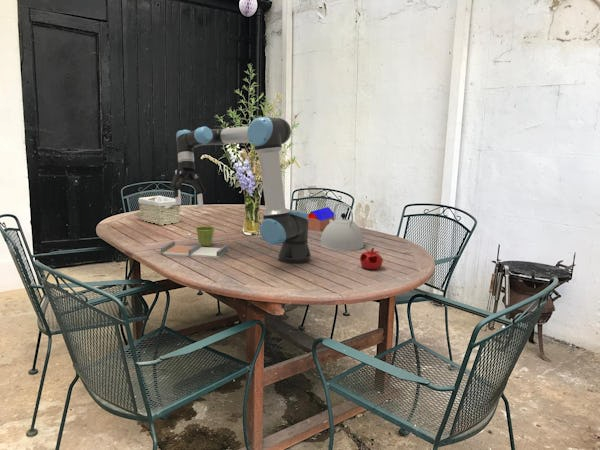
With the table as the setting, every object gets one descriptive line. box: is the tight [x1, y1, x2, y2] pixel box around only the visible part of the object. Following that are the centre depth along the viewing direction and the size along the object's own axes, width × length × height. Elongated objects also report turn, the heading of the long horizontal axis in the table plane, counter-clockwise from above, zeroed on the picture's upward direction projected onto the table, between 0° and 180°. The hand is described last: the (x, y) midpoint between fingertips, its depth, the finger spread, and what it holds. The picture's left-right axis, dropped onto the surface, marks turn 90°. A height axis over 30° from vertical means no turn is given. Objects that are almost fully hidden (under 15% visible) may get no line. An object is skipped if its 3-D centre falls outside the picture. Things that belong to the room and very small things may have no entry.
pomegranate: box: [359, 247, 384, 270], centre depth 214 cm, size 10×10×9 cm
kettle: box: [320, 202, 365, 252], centre depth 252 cm, size 25×23×23 cm
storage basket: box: [137, 195, 182, 226], centre depth 297 cm, size 24×16×15 cm
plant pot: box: [195, 226, 216, 247], centre depth 245 cm, size 9×9×9 cm
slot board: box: [160, 240, 229, 259], centre depth 231 cm, size 28×14×3 cm, turn 82°
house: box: [307, 206, 335, 232], centre depth 294 cm, size 12×20×12 cm, turn 148°
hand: (189, 205), depth 226 cm, fingers open, 13 cm apart
